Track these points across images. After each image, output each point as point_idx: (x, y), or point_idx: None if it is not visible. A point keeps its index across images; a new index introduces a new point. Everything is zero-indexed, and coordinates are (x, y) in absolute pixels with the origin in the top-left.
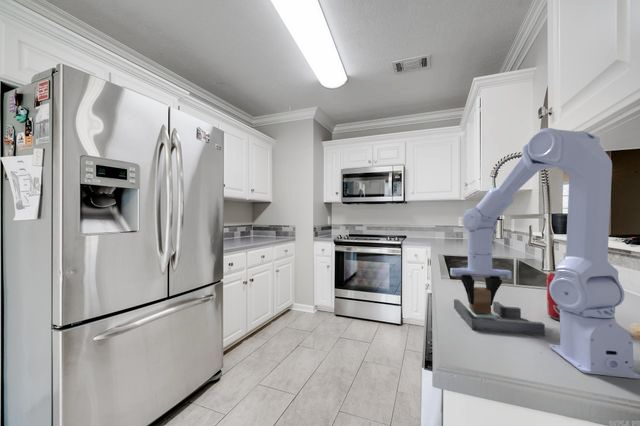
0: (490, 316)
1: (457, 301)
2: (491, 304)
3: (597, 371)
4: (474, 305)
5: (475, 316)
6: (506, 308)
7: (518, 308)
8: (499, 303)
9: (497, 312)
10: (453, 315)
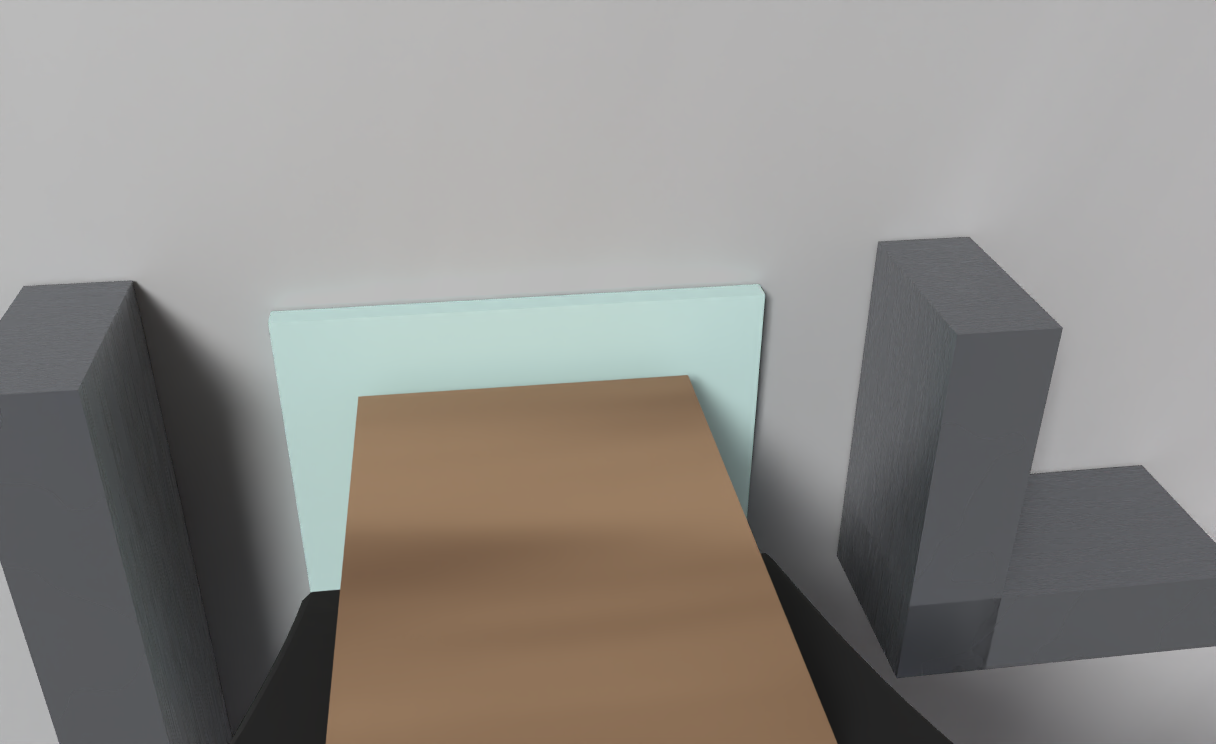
0: None
1: (41, 551)
2: None
3: None
4: None
5: None
6: (983, 662)
7: (1197, 636)
8: (1025, 435)
9: (864, 439)
10: (3, 695)
